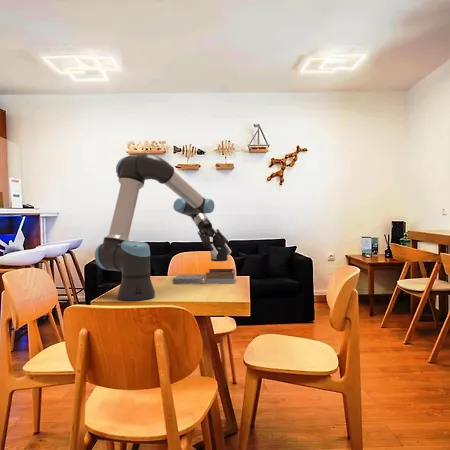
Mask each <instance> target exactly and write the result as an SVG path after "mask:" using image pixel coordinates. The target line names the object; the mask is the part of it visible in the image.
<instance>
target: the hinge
mask: <svg viewBox="0 0 450 450" xmlns="http://www.w3.org/2000/svg"><path fill="white" fill-rule="evenodd" d="M235 280H236V275H235V276H234V279H206V273H205V274H196V273H195V274H178V275H176V276H175V277H174V278H172V284H175V285H177V284H178V285H179V284H180V285H187V284H186V283H202V285H204V283H218V285H221V284H222V285H223V284H224V285H226V284H227V285H228V284H232V285H233V284H235ZM182 283H183V284H182ZM184 283H185V284H184Z"/></svg>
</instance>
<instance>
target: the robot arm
mask: <svg viewBox="0 0 450 450" xmlns="http://www.w3.org/2000/svg"><path fill="white" fill-rule="evenodd" d="M115 173H116V176H117V178H118V180H117V181H118V183H119V185H120V187H119V191H118V195H117V199H116V203H115V208H114V210H113V211H114V212H113V216H112V220H111V223H110V228H109V232H108V234H107V235H106V236H104V238H103V241H102V243H101V244H99V245H98V246H97V247H96V248H95V252H94V260H95V263H96V264H97V266H99V268H101V269H102V270H105V271H114V272H115V271H116V272H121V281H120V284H119V288H118V292H117V299H118V300H120V301H127V302H130V301H131V302H133V301H134V302H136V301H138V302H139V301H144V300H151V299H153V298H155V297H156V295H155V294H156V293H155V289H154V286H153V282H152V280H151V250H150V249H151V248H150V245H149V244H148V243H147V242H143V241H138V240H137V241H135V240H130V238H129V236H130V232H131V227H132V223H133V219H134V214H135V209H136V206H137V202H138V197H139V192H140V190H141V189H142V188H144V186H145V181H147V180H153V181H156V182H158V183H159V184H161V185H165V186H166V187H167V188H168V189H170V190H171V191H172V192H173V193H175V195H177V196H178V198H177V199H175V200H174V202H173V206H172V207H173V210H174V211H175V212H177V213H179V214H181V215H185V216H187V217H189V218H191V220H192V222H193V223H194V224H195V226H196V227H197V229H198V232H197V235H198V236H199V238H200V240H201V243H202V245H203V247H205V248H206V249H209V251H210V252H211V251H212V253H213V255H214V256H217V254H218V252H217V250H216V249H215V247H214V245H213V243H212V241H211V238H212V239H213V238H225V241H226V244H225V246H226V247H227V249H228V256H230V255H231V253H232V249H230V247H229V245H228V242H229V240H228V239H227V238H226V237H225V236H224V235H223V234H222V232H220V229H219V228H216V229H214V227H213V224H212V223H211V221H210V220H209V218H208V216H207V215H206V214H211V213H213V212H214V209H215V202H214V200H213V199H212V198H205V197H203V196H202V195H201V194H200V193H199V192H198V191H197V190H196V188H195V189H194V188H193V186H191V184H189V183H188V182H187V181H186V180H184V178H182V177H181V176H180V174H178V173H177V171H175V167H173V166H172V164H170V163H169V162H168V161H167V160H164V159H163V158H162V157H160V156H158V155H155V154H154V153H153V154H152V153H142V154H134V155H127V156H124V157H121V158H120V159H119V160H118V161H117V164H116V167H115Z"/></svg>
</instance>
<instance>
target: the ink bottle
mask: <svg viewBox="0 0 450 450" xmlns="http://www.w3.org/2000/svg"><path fill="white" fill-rule="evenodd" d="M225 238H226V237H225ZM225 238H212V244H213V246H214V247H215V249H216V250H217V252H218V254H217V256H214V255H213V253H212V251H210V261H211V262H227V261H229V260H228V258H229V257H228V256H229V255H228V249H227V247H226V246H225V244H226V241H225Z"/></svg>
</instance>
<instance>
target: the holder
mask: <svg viewBox="0 0 450 450" xmlns="http://www.w3.org/2000/svg"><path fill="white" fill-rule="evenodd" d="M205 274H206V279H234V276H235V277H236V269H235V268H209V271H208V272H205Z"/></svg>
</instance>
